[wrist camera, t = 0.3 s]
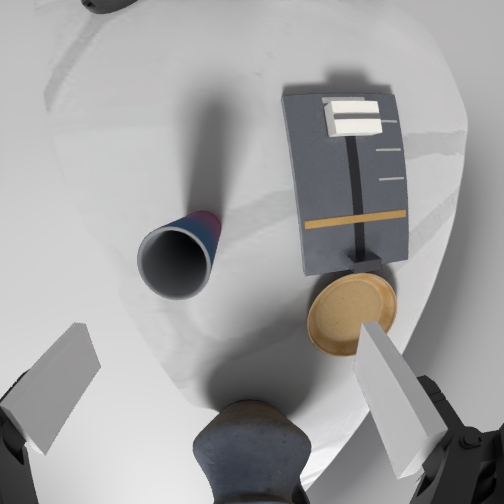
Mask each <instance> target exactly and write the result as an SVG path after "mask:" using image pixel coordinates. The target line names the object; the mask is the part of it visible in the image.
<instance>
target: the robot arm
mask: <svg viewBox="0 0 504 504" xmlns="http://www.w3.org/2000/svg"><path fill="white" fill-rule="evenodd" d="M136 1H137V0H81V2H82V4H83V6H84V7H86V8H87V9H88V10H89V11H91V12H93V13H96V14H106V13H111V12H114V11H117V10H120V9H122V8H125V7H127V6H129V5H131V4H132V3H134V2H136ZM100 368H101V366H100V363H99V361H98V358H97V355H96V353H95V350H94V347H93V345H92V341H91V339H90V336H89V333H88V330H87V327H86V324H82V323H74V324H73V325H72V326H71V327H70V328H69V329H68V330H67V331H66V332H65V333H64V334H63V335H62V336H61V337H60V338H59V339H58V340H57V341H56V342H55V343H54V344H53V345H52V346H51V347H50V348H49V349H48V350H47V351H46V352H45V353H44V354H43V355H42V356H41V358H40V359H39V360H38V361H37V362H36V363H35V364H34V365H33V366H32V367H31V368H30V369H29V370H28V371H26V372H24V373H23V374H22V375H21V376H20V377H19V378H18V379H17V382H15V383H14V384H13V385H12V387H10V388H9V390H8V391H7V392H6V393H5V394H4V396H3V397H2V398H1V399H0V504H39V503H38V499H37V496H36V492H35V488H34V483H33V479H32V474H31V469H30V464H29V458H28V452H27V449H26V447H25V446H24V444H25V442H27V443H28V444H29V445H30V446H31V448H32V449H33V450H35V451H37V452H39V453H41V454H43V455H46V454H47V452H48V450H49V448H50V447H51V445H52V443H53V442H54V440H55V438H56V436H57V435H58V433H59V431H60V430H61V428H62V426H63V425H64V423H65V421H66V420H67V418H68V417H69V415H70V413H71V412H72V410H73V409H74V407H75V406H76V404H77V402H78V401H79V399H80V398H81V396H82V395H83V393H84V392H85V390H86V389H87V387H88V385H89V384H90V382H91V381H92V379H93V378H94V376H95V375H96V373H97V372H98V370H99V369H100ZM353 371H354V373H355V375H356V378H357V380H358V382H359V385H360V387H361V389H362V392H363V394H364V396H365V399H366V401H367V404H368V406H369V408H370V411H371V413H372V416H373V418H374V421H375V423H376V426H377V428H378V431H379V433H380V436H381V438H382V441H383V443H384V446H385V449H386V451H387V454H388V456H389V459H390V462H391V464H392V467H393V470H394V473H395V475H396V478H397V479H400V478H403V477H406V476H409V475H412V474H415V473H416V472H417V471H418V470H419V468H420V467H421V466H423V469H424V471H425V472H424V473H423V474H422V476H421V477H420V478H419V479H418V480H417V481H416V483H415V485H417V484H418V483H419V484H418V486H417V489H416V491H415V493H414V495H413V497H412V499H411V501H410V504H504V423H503V425H502V426H501V427H500V428H499V430H496V431H490V432H484V433H481V432H480V431H479V430H478V429H476V428H474V427H466V426H464V424H463V423H462V422H461V420H460V418H459V417H458V415H457V414H456V412H455V411H454V409H453V408H452V407H451V405H450V403H449V402H448V401H447V400H446V397H445V396H444V394H443V393H441V390H440V389H439V387H438V386H437V384H436V383H435V382H434V381H433V380H431V379H430V378H429V377H427V376H426V375H424V376H421V377H415V375H414V374H413V372H412V371H411V369H410V368H409V366H408V365H407V363H406V362H405V360H404V359H403V357H402V356H401V354H400V353H399V352H398V350H397V349H396V347H395V346H394V344H393V343H392V341H391V340H390V339H389V337H388V336H387V334H386V333H385V332H384V330H383V329H382V327H381V326H380V325H379V323H378V322H377V321H375V322H366V323H362V325H361V331H360V337H359V342H358V348H357V353H356V358H355V363H354V367H353Z"/></svg>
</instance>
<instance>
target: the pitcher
mask: <svg viewBox="0 0 504 504" xmlns="http://www.w3.org/2000/svg"><path fill="white" fill-rule="evenodd" d="M193 453H194V456H195V458H196V460H197V462H198V463H199V465H200V466H201V468H202V470H203V472H204V473H205V475H206V477H207V479H208V481H209V483H210V486H211V488H212V492H213V496H214V504H310V502H309V499H308V497H307V495H306V493H305V491H304V489H303V487H302V485H301V482H300V474H301V472H302V470H303V469H304V467H305V465H306V463H307V461H308V459H309V456H310V453H311V442H310V440H309V438H308V436H307V435H306V434H305V433H304V432H303V431H302V430H301V429H300V428H299V427H297V426H296V425H295V424H293V423H292V422H291V421H290V420H288V419H287V418H286V417H285V416H284V415H283V414H281V413H280V412H279V411H278V410H277V409H276V408H275V407H274V406H271V405H269V404H267V403H265V402H262V401H256V400H243V401H238V402H236V403H233V404H231V405H229V406H227V407H226V408H225V409H224V410H223V411H222V412H221V413H219V414H218V415H217V416H216V417H215V418H214V419H213V420H212V421H211V422H210V423H209V424H208V425H207V426H206V427H205V428H204V429H203V430H202V431H201V432H200V433H199V434H198V436H197V437H196V438H195V440H194V442H193Z"/></svg>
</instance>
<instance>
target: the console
mask: <svg viewBox="0 0 504 504" xmlns="http://www.w3.org/2000/svg"><path fill="white" fill-rule="evenodd" d="M331 101H377V103H378V109H379V114H380V116H381V119H380V120H381V126H382V133H378V134H374V135H362V136H337V137H329V134H328V128H327V122H326V116H325V110H324V107H325V106H326V105H327V104H328V103H329V102H331ZM281 102H282V108H283V114H284V120H285V126H286V132H287V139H288V145H289V152H290V159H291V166H292V173H293V181H294V189H295V196H296V205H297V213H298V222H299V231H300V241H301V251H302V261H303V271H304V273H305V276H310V275H317V274H324V273H330V272H337V271H343V270H349V269H350V270H351V271H352V272H353V273H354V274H358V273H364V272H370V271H376V270H381V269H382V264H385V263H391V262H397V261H402V260H408V239H409V228H408V196H407V180H406V168H405V158H404V150H403V142H402V135H401V128H400V122H399V116H398V110H397V105H396V100H395V95H389V94H368V93H323V94H303V95H289V96H282V99H281Z"/></svg>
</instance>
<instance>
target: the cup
mask: <svg viewBox="0 0 504 504" xmlns="http://www.w3.org/2000/svg"><path fill="white" fill-rule="evenodd" d="M220 233H221V226H220V222H219V221H218V219H217V218H216V216H214V215H213V214H211V213H210V212H206V211H199V212H195V213H193V214H191V215H188V216H186V217H183V218H181V219H179V220H176V221H174V222H171V223H169V224H167V225H164V226H162V227H160V228H158V229H155V230H154V231H152V232H150V233H149V234H148V235H147V236H146V237H145V238H144V240H143V241H142V243H141V245H140V247H139V250H138V255H137V264H138V269H139V272H140V275H141V277H142V279H143V281H144V282H145V284H146V285H147V286H148V287H149V288H150V289H151V290H152V291H153V292H155V293H156V294H158V295H160V296H161V297H164V298H167V299H171V300H184V299H188V298H191V297H193V296H195V295H197V294H198V293H199V292H201V291H202V289H203V288H204V287H205V286H206V284H207V282H208V280H209V277H210V273H211V269H212V265H213V261H214V257H215V253H216V249H217V245H218V241H219V237H220Z"/></svg>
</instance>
